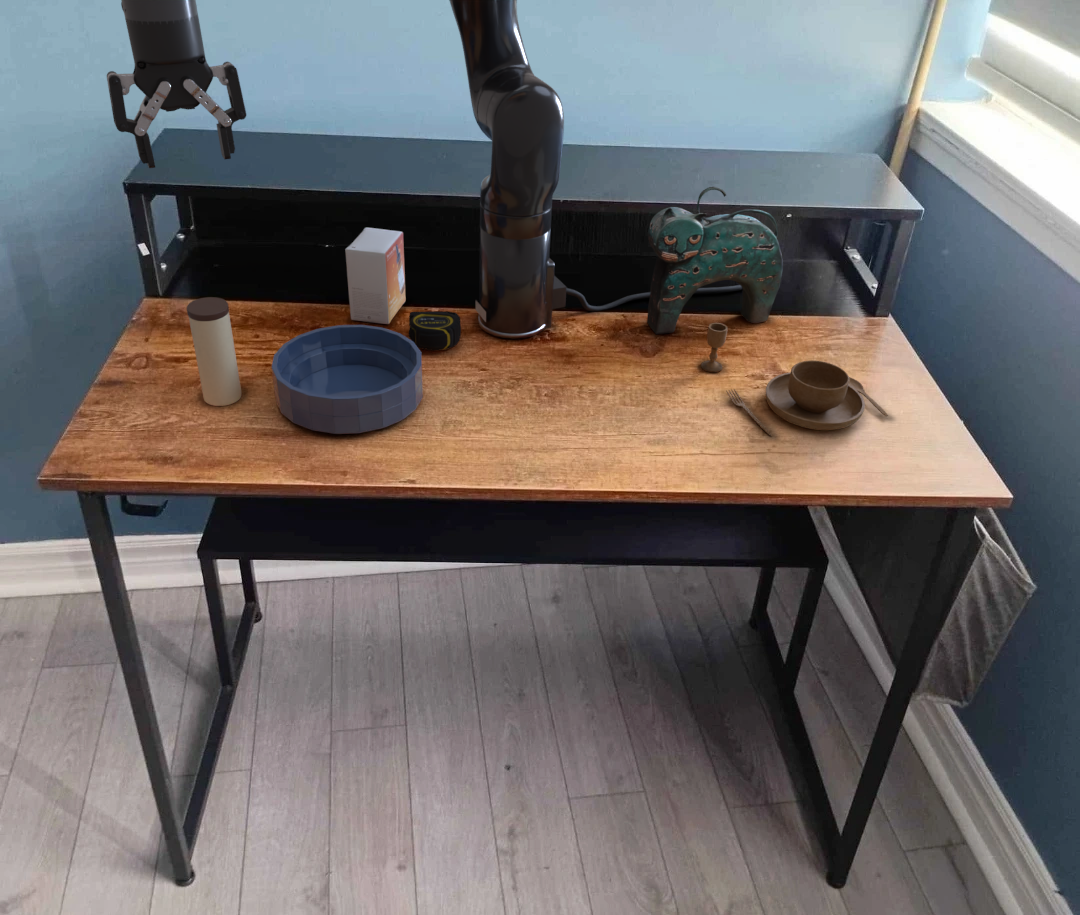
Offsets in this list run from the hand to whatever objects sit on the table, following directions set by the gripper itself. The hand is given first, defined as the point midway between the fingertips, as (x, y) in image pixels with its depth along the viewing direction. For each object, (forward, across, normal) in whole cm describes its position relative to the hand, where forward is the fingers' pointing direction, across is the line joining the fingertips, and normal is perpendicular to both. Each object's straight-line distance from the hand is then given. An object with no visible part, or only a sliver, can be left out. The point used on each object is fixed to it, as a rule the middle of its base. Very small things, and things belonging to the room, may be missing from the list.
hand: (189, 161), depth 115 cm
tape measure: (+25, +25, -10) cm, 37 cm away
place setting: (+26, +63, -38) cm, 78 cm away
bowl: (+25, +11, -19) cm, 33 cm away
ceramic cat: (+26, +63, -18) cm, 70 cm away
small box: (+24, +22, +1) cm, 32 cm away
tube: (+24, -3, -13) cm, 28 cm away
